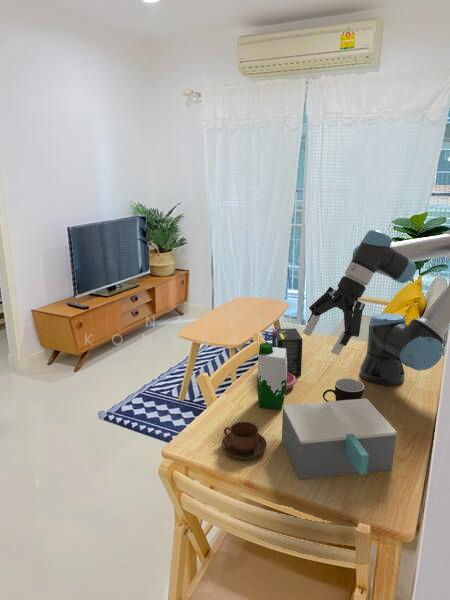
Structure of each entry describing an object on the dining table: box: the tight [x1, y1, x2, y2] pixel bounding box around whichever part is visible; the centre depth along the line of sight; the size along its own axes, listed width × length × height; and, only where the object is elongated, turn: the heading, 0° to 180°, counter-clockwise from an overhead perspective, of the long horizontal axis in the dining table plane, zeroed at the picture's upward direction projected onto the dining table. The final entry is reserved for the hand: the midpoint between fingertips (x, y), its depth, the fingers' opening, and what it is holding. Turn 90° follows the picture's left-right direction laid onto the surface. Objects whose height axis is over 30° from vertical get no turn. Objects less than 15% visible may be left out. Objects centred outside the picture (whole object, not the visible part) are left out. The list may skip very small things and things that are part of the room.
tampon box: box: [271, 328, 303, 377], centre depth 162 cm, size 11×9×15 cm
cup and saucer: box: [221, 421, 267, 460], centre depth 118 cm, size 12×12×6 cm
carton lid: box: [282, 398, 398, 476], centre depth 109 cm, size 24×25×5 cm
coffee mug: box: [322, 377, 365, 402], centre depth 134 cm, size 12×9×10 cm
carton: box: [281, 408, 397, 481], centre depth 114 cm, size 24×16×10 cm, turn 98°
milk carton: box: [257, 342, 287, 411], centre depth 138 cm, size 9×9×20 cm
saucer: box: [286, 372, 296, 391], centre depth 153 cm, size 12×12×3 cm
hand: (319, 343), depth 131 cm, fingers open, 13 cm apart
